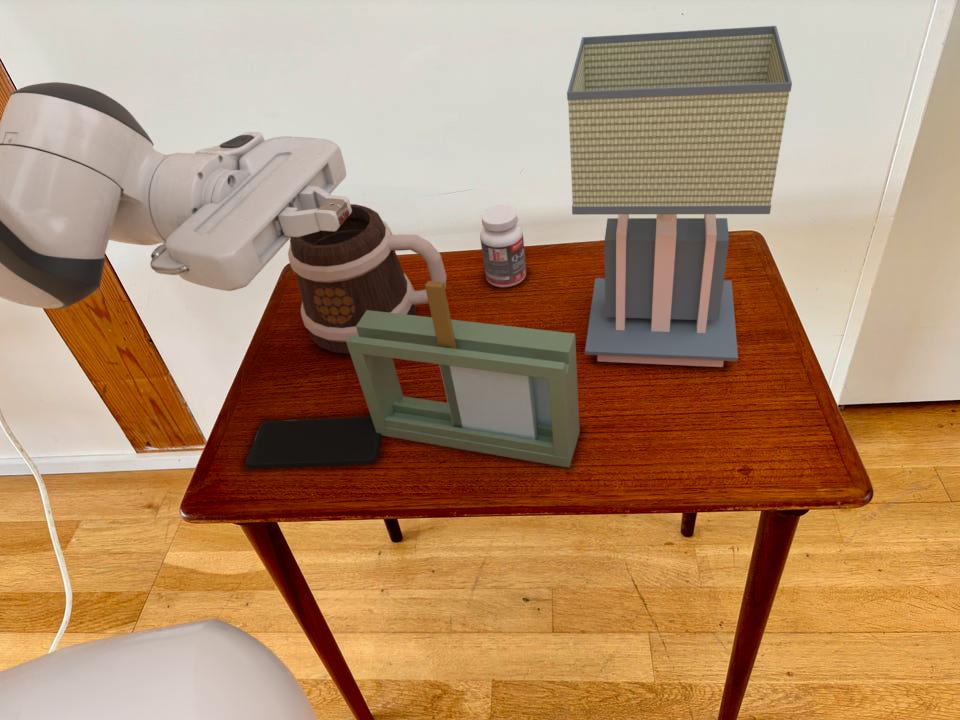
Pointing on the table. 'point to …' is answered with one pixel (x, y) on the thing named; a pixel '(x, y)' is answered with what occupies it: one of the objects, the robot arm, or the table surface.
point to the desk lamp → (673, 180)
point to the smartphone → (315, 443)
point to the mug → (356, 275)
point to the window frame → (477, 348)
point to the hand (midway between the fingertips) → (343, 214)
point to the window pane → (481, 385)
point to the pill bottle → (502, 246)
